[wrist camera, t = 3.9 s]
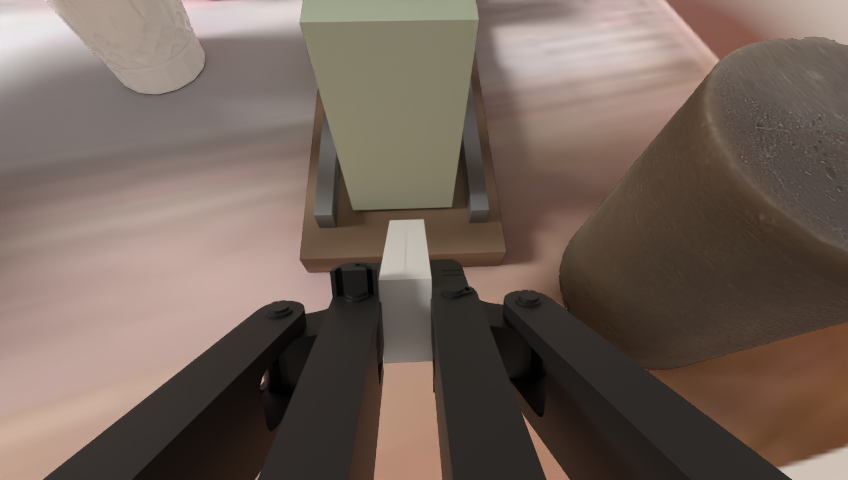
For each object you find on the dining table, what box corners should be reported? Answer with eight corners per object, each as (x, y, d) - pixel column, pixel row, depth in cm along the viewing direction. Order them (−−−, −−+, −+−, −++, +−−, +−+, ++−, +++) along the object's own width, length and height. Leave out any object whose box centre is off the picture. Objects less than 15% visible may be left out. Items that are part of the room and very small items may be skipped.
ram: (459, 206, 24) (493, 19, 13) (344, 210, 24) (284, 22, 13) (453, 143, 26) (477, -61, 15) (348, 146, 26) (299, -60, 15)
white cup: (150, 28, 35) (58, -115, 26) (231, 45, 34) (164, -96, 25) (92, 88, 31) (-38, -52, 22) (180, 110, 30) (81, -27, 21)
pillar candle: (566, 364, 22) (808, 254, 9) (551, 215, 26) (696, -13, 13) (739, 376, 22) (1251, 283, 9) (695, 224, 26) (989, 6, 13)
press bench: (499, 265, 25) (546, 167, 16) (308, 272, 24) (244, 175, 15) (460, -5, 37) (474, -144, 28) (334, -3, 37) (307, -143, 28)
